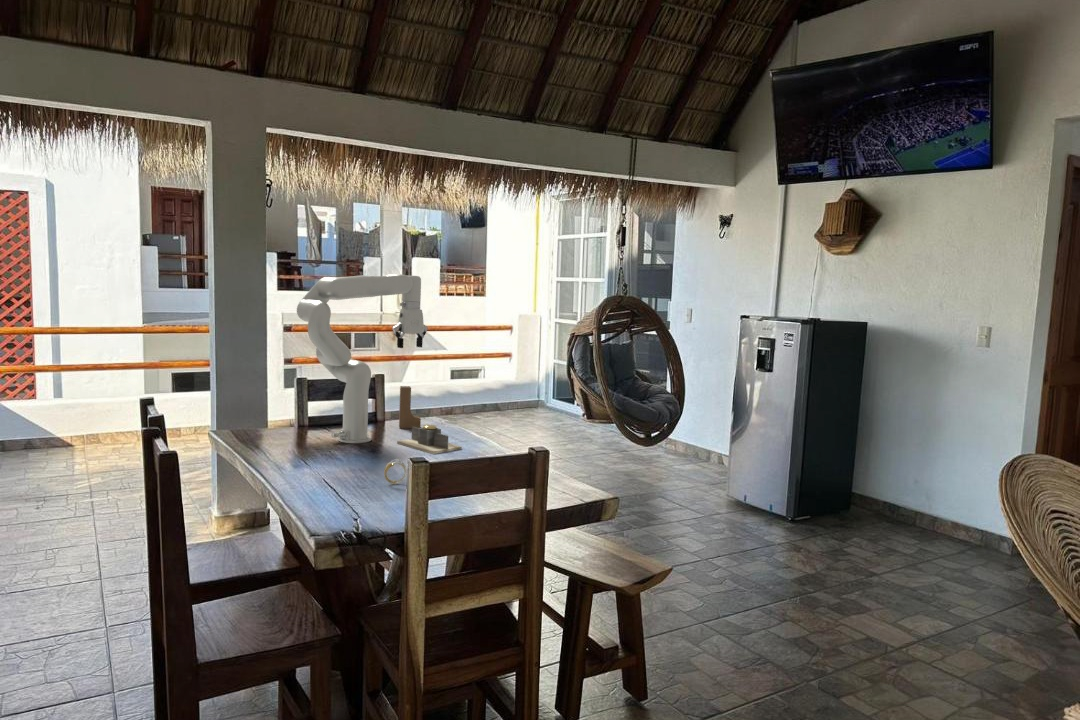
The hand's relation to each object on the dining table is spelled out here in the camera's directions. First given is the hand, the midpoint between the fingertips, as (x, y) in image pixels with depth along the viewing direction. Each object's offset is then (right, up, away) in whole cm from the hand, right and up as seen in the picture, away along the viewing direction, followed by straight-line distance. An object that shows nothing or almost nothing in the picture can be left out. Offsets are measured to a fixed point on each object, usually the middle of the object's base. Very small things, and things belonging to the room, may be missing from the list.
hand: (409, 347), depth 298 cm
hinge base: (+11, -39, -17) cm, 43 cm away
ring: (+8, -44, -71) cm, 84 cm away
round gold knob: (+11, -37, -17) cm, 42 cm away
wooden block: (-3, -35, +17) cm, 39 cm away
